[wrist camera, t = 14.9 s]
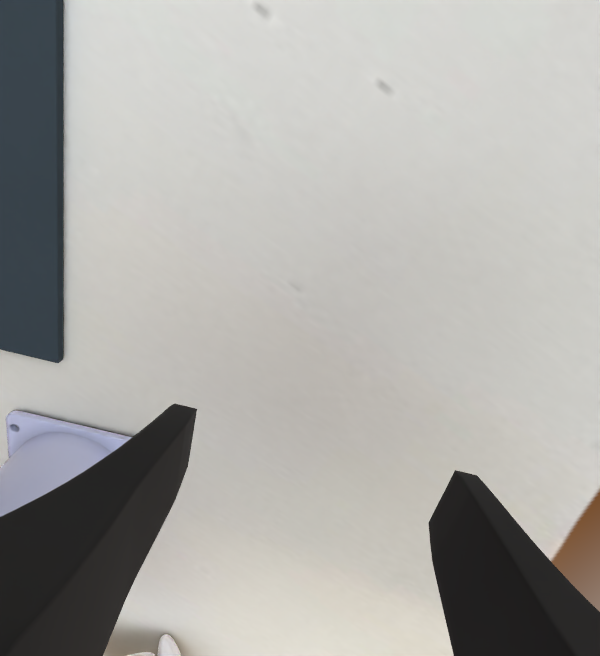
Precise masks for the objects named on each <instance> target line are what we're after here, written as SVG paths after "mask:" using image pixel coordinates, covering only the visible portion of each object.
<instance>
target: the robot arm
mask: <svg viewBox="0 0 600 656" xmlns="http://www.w3.org/2000/svg"><path fill="white" fill-rule="evenodd" d="M196 411H197V409H195V408H191V407H187V406H182V405H178V404H173V405H171V406H170V407H169V408H167V409H166V410H165V411H164V412H163V413H162V414H161V415H159V416H158V417H157V418H156V419H155V420H154V421H152V422H151V423H150V424H149V425H147V426H146V427H145V428H144V429H143V430H141V431H140V432H139V433H138V434H136V435H135V436H134V437H129V436H124V435H120V434H116V433H112V432H107V431H103V430H99V429H95V428H90V427H86V426H82V425H78V424H73V423H69V422H65V421H61V420H56V419H52V418H48V417H44V416H39V415H35V414H31V413H26V412H22V411H18V410H14V411H11V412H10V413H9V414H8V415H7V416H6V424H7V438H8V453H9V459H8V460H7V461H6V462H5V463H4V464H3V465H2V466H1V467H0V656H103V654H104V651H105V649H106V646H107V644H108V641H109V639H110V636H111V634H112V631H113V629H114V626H115V624H116V622H117V619H118V617H119V614H120V612H121V609H122V607H123V604H124V602H125V599H126V597H127V595H128V593H129V591H130V589H131V586H132V584H133V582H134V580H135V578H136V576H137V574H138V572H139V570H140V568H141V566H142V564H143V562H144V560H145V558H146V556H147V554H148V552H149V551H150V549H151V547H152V545H153V543H154V541H155V539H156V537H157V535H158V533H159V531H160V529H161V527H162V525H163V523H164V521H165V519H166V517H167V515H168V513H169V511H170V509H171V507H172V505H173V503H174V501H175V499H176V496H177V493H178V491H179V488H180V486H181V483H182V480H183V478H184V475H185V472H186V470H187V467H188V461H189V455H190V449H191V443H192V436H193V430H194V424H195V418H196ZM16 425H17V426H18V427H17V426H16ZM429 532H430V544H431V553H432V561H433V566H434V571H435V575H436V580H437V584H438V589H439V593H440V597H441V602H442V606H443V610H444V615H445V619H446V623H447V627H448V632H449V636H450V640H451V645H452V649H453V654H454V656H600V612H599V611H598V610H597V609H596V608H595V607H594V606H593V605H592V604H590V602H589V601H588V600H586V598H585V597H584V596H583V595H582V594H581V593H580V592H579V591H578V590H577V589H576V588H575V587H574V586H573V585H572V584H571V583H570V582H569V581H568V580H567V579H566V578H565V576H563V574H562V573H561V572H560V571H559V570H558V569H557V568H556V567H555V566H554V565H553V564H552V562H551V561H550V560H549V559H548V558H547V557H546V556H545V555H544V554H543V552H542V551H541V550H540V549H539V548H538V547H537V546H536V544H535V543H534V542H533V541H532V540H531V539H530V537H529V536H528V535H527V534H526V533H525V532H524V530H523V529H522V528H521V527H520V526H519V524H518V523H517V522H516V521H515V520H514V518H513V517H512V516H511V515H510V514H509V512H508V511H507V510H506V509H505V508H504V506H503V505H502V504H501V503H500V502H499V500H498V499H497V498H496V497H495V496H494V494H493V493H492V492H491V491H490V490H489V489H488V487H487V486H486V485H485V484H484V483H483V482H482V481H481V480H480V478H479V477H478V476H477V475H472V474H468V473H464V472H460V471H456V470H455V472H454V474H453V476H452V478H451V480H450V482H449V484H448V486H447V488H446V490H445V492H444V494H443V495H442V497H441V499H440V501H439V503H438V505H437V507H436V509H435V511H434V513H433V515H432V517H431V519H430V521H429Z"/></svg>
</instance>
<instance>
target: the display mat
mask: <svg viewBox="0 0 600 656" xmlns="http://www.w3.org/2000/svg"><path fill="white" fill-rule="evenodd" d="M0 349H1V350H5V351H9V352H13V353H18V354H22V355H26V356H30V357H34V358H39V359H43V360H47V361H51V362H55V363H59V362H60V361H61V360H63V0H0Z"/></svg>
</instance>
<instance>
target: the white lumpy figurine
mask: <svg viewBox="0 0 600 656" xmlns="http://www.w3.org/2000/svg"><path fill="white" fill-rule="evenodd" d="M125 656H155V655H154V654H153V653H151V652H141V653H136V654H130V655H125ZM158 656H181V653H180V651H179V648H178V646H177V645H176V643H175V641H174V639H173V638H172V637H171V636H170V635H167V634H165V635H163V636H162V637H161V638H160V640H159V644H158Z"/></svg>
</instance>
